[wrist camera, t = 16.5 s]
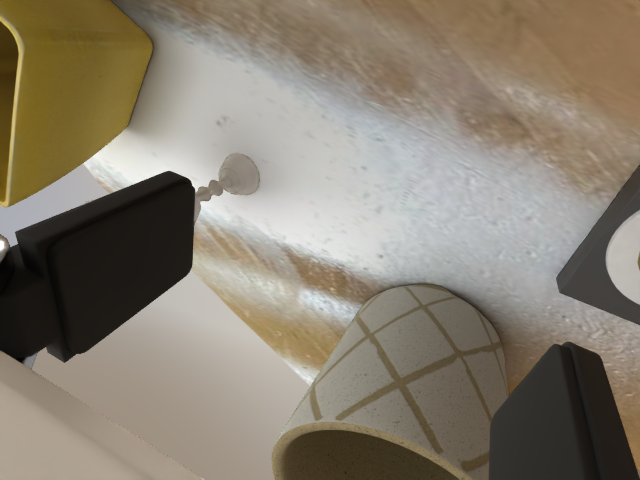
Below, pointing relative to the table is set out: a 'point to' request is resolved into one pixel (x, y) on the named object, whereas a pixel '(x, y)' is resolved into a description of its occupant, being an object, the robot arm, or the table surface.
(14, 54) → the flower pot
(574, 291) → the scale
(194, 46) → the table surface
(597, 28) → the table surface
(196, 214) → the chalice
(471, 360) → the planter
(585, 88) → the table surface
